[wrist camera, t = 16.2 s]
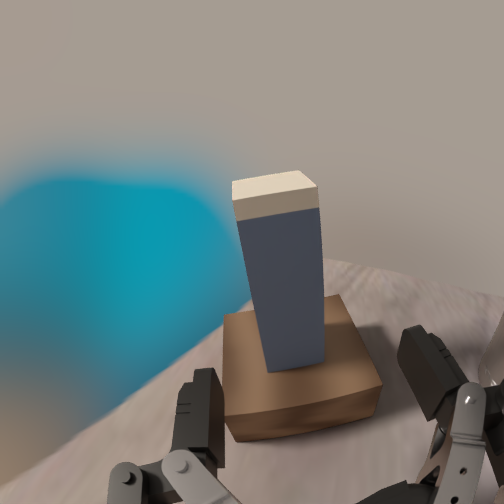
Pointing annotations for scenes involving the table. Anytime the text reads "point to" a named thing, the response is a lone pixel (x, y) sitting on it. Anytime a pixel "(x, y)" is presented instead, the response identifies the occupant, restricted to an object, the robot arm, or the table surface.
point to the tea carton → (283, 265)
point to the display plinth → (296, 380)
